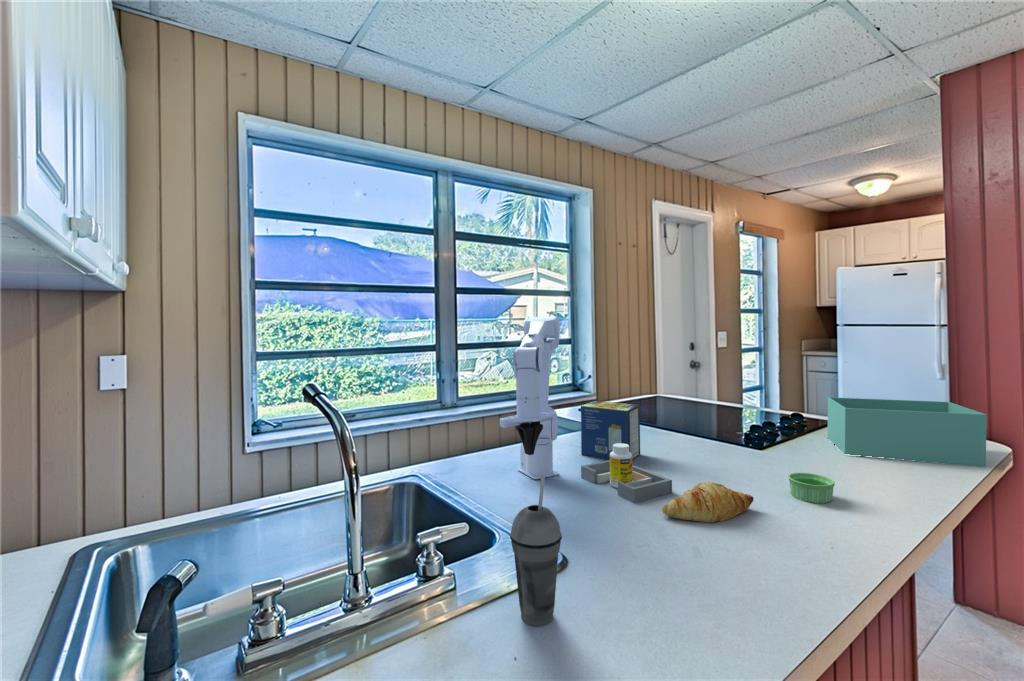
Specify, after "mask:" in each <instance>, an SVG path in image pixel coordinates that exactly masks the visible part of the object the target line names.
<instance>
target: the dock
mask: <svg viewBox="0 0 1024 681" xmlns="http://www.w3.org/2000/svg"><path fill="white" fill-rule="evenodd" d="M580 475H581V476H580V477H581V478H583V479H585V480H587V481H589V482H590V483H593V484H596V483H598V484H602V483H608V482H610V460H608V459H607V460H604V461H599V462H594V463H589V464H584V465H581V466H580ZM671 493H673V480H672V479H671V478H667V477H665V476H662V475H661V474H657V473H654V472H652V471H650V470H647V469H644V468H641V467H639V466H636V465H633V464H632V482H628V483H623V482H618V488H617V495H618V496H619V497H621V498H624V499H626V500H628V501H630V502H632V503H636V502H637V503H638V502H639V501H640V502H641V501H644V500H648V499H652V498H655V497H660V496H663V495H667V494H671Z"/></svg>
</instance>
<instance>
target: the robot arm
mask: <svg viewBox="0 0 1024 681" xmlns="http://www.w3.org/2000/svg"><path fill="white" fill-rule="evenodd" d="M560 332H561V324H560V319H559V317H558V316H541V317H540V316H538V317H537V316H535V317H529V316H526V317H525V319H524V321H523V334H524V336H523V339H522V341H521V343H520V346H517V348H516V349H514V350H513V354H512V365H513V366H512V367H513V372H514V379H515V386H516V387H515V392H516V394H515V395H516V396H515V397H516V414H515V415H510V416H506V417H501V418H499V427H500V428H503V429H508V427H514V428H515V430H516V431H517V433H518V435H519V438H520V440H521V445H520V447H519V451H520V453H519V454H520V456H519V457H520V467H518V468H517V471H519V472H520V473H522V474H524V475H526V476H527V477H530V478H531V479H532V480H539V479H540V480H541V477H542V475H545V478H549V477H554V476H559V475H560V471H557V470H555V469H553V468H554V466H553V465H554V458H553V456H554V455H553V452H554V451H553V449H554V448H553V445H554V444H553V441H556V440H557V438H558V433H559V426H558V424H559V423H558V414H557V412H556V410H555V409H553V407H551V406H550V405H549V396H550V395H549V394H550V372H551V358H552V355H553V351H555V350H556V349H557V348H559V344H560V335H561V333H560Z"/></svg>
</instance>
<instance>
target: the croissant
mask: <svg viewBox="0 0 1024 681" xmlns="http://www.w3.org/2000/svg"><path fill="white" fill-rule="evenodd" d="M753 502H754V496H753V495H750V494H747V493H743V492H740V491H736V490H732V489H731V488H729V487H728V488H727V487H726V486H724V485H723V484H721V483H720V484H719V483H716V482H710V481H707V482H701V483H698V484H696V485H694V486H693V487H692V489H688V490H686V491H684V492H683V494H682V495H680V496H678V497H673V499H672V500H670V501H669V504H664V505H662V508H661V510H662V514H664V515H665V516H668V517H670V518H673V519H678V520H685V521H693V522H701V523H702V522H703V523H704V522H705V523H715V522H717V521H718V522H719V521H722V522H723V521H726V520H730V519H732V518H734V517H735V516H737V515H739V514H742V513H743V512H745V511H747V510H748V509H749V508H750V507H751V505H752V503H753Z"/></svg>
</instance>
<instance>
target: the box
mask: <svg viewBox="0 0 1024 681" xmlns="http://www.w3.org/2000/svg"><path fill="white" fill-rule="evenodd" d="M987 416H988V415H987V413H983V412H979V411H977V410H975V409H970V408H968V407H965V406H962V405H959V404H956V403H955V402H954V403H953V402H950V401H936V400H935V401H930V400H913V399H912V400H911V399H909V400H908V399H887V398H886V399H883V398H879V399H878V398H858V397H857V398H855V397H851V398H850V397H830V396H828V397H827V439H828V438H829V439H830V440H831V441H832V442H833V443H834V444H835V445H836V446H837V447H838V448H839V449H840V450H841V451H842V452H843V453H844V454H850V455H861V456H872V457H884V458H895V459H904V460H903V461H905V460H915V461H914V462H917V461H925V462H924V463H930V462H938V463H937V464H943V463H945V465H947V464H948V465H959V466H968V467H969V466H970V467H980V468H981V467H985V468H986V466H987V464H986V463H987V460H986V459H987V426H988V423H987V421H988V420H987Z"/></svg>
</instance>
